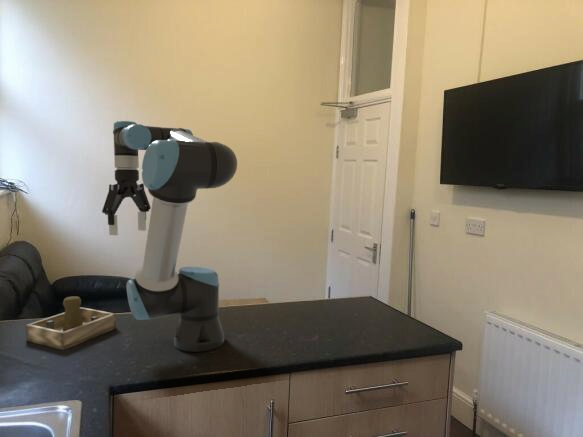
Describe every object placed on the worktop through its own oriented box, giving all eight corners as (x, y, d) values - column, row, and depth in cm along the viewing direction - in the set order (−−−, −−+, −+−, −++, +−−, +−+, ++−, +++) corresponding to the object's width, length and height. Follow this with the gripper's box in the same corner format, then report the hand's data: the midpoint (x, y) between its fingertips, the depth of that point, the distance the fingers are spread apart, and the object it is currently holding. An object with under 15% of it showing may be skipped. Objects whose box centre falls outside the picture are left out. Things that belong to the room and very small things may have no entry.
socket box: (116, 328, 147) (115, 313, 146) (63, 349, 129) (62, 333, 128) (81, 321, 153) (80, 307, 153) (26, 340, 135) (25, 324, 134)
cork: (87, 327, 143) (86, 294, 142) (76, 334, 137) (75, 300, 136) (69, 326, 144) (68, 294, 143) (58, 333, 138) (57, 299, 137)
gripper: (142, 169, 159) (144, 228, 161) (88, 168, 136) (90, 236, 138) (160, 169, 156) (161, 229, 158) (107, 168, 133) (109, 237, 135)
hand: (128, 232), depth 148 cm, fingers open, 13 cm apart
